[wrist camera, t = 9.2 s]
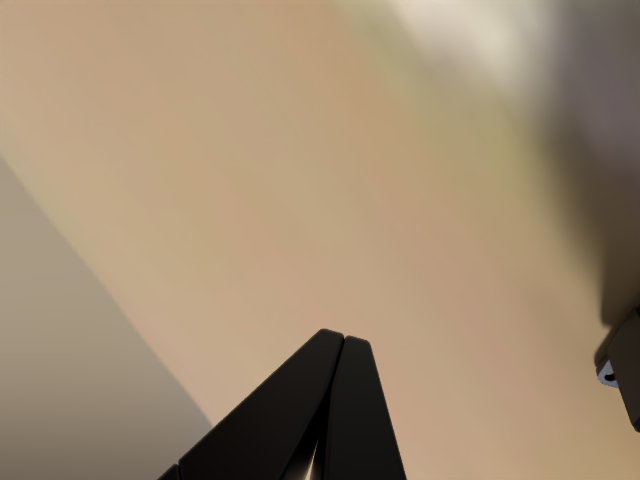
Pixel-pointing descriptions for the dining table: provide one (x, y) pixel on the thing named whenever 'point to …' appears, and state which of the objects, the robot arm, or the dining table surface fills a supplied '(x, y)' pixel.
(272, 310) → the dining table surface
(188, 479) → the robot arm
